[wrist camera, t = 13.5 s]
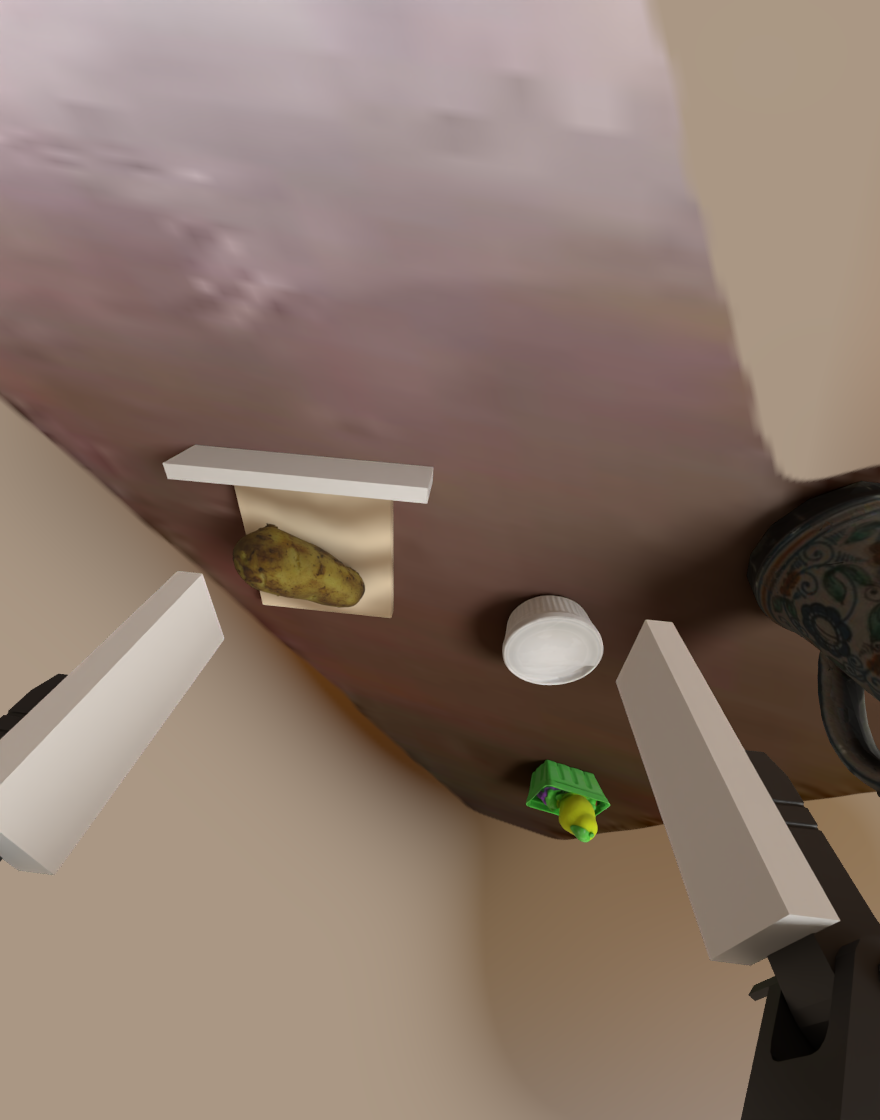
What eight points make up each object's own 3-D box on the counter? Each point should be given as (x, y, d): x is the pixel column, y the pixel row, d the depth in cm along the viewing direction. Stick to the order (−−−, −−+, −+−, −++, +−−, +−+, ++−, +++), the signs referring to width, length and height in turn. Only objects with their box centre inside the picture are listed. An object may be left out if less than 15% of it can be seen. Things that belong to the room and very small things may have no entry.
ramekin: (531, 664, 54) (535, 697, 50) (482, 613, 50) (482, 645, 46) (609, 630, 50) (622, 663, 46) (563, 571, 45) (572, 601, 41)
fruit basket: (521, 774, 70) (527, 849, 61) (546, 749, 65) (558, 827, 56) (579, 791, 72) (593, 867, 62) (608, 768, 67) (629, 846, 57)
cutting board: (238, 469, 42) (231, 475, 40) (393, 484, 41) (390, 490, 40) (268, 596, 51) (263, 604, 50) (393, 609, 51) (391, 618, 50)
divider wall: (194, 444, 40) (162, 463, 36) (433, 466, 40) (427, 488, 36) (199, 459, 41) (167, 478, 37) (432, 481, 41) (427, 503, 36)
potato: (323, 605, 49) (298, 654, 43) (247, 522, 43) (205, 565, 37) (378, 580, 46) (361, 629, 40) (304, 489, 41) (270, 529, 34)
